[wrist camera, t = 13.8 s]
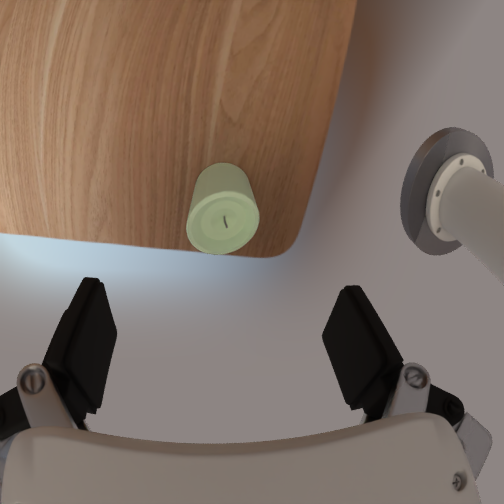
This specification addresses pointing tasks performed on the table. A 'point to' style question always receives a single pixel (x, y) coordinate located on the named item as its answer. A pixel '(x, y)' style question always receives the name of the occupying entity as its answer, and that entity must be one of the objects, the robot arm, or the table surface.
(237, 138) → the table surface
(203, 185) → the candle
